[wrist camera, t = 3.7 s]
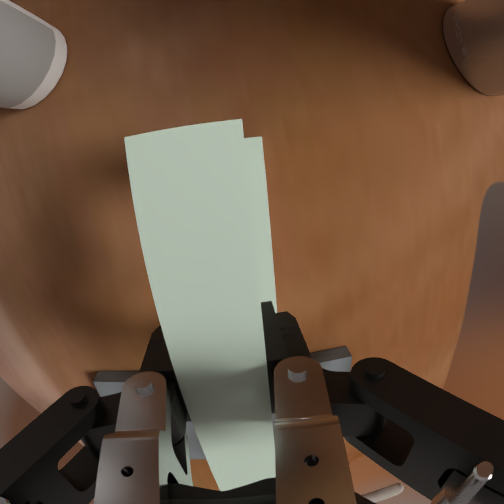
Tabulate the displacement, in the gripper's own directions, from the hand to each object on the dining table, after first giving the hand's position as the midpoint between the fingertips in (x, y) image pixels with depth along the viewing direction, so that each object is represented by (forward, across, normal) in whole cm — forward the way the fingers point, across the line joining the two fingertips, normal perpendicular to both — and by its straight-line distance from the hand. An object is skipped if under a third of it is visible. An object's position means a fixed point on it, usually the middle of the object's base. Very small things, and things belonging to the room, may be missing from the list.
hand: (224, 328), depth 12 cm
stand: (+10, 0, 0) cm, 10 cm away
